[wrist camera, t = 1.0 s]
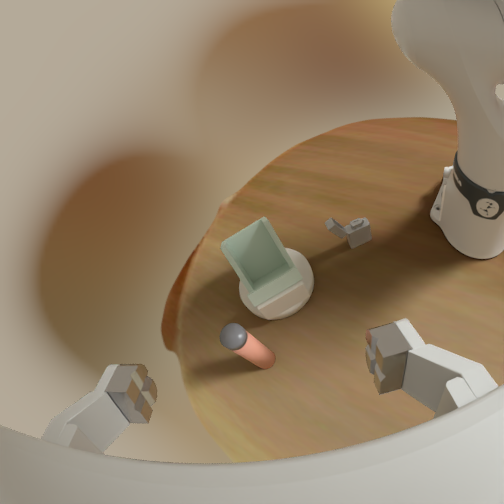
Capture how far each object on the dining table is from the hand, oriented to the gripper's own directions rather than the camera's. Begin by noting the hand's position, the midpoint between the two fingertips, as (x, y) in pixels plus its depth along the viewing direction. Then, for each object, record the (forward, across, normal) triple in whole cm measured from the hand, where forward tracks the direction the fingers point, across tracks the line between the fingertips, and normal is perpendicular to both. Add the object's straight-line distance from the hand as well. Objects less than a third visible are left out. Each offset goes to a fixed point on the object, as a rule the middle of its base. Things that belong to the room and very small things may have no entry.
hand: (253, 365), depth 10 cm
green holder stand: (+37, -1, +18) cm, 41 cm away
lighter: (+39, -15, +13) cm, 44 cm away
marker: (+27, +3, +24) cm, 37 cm away
